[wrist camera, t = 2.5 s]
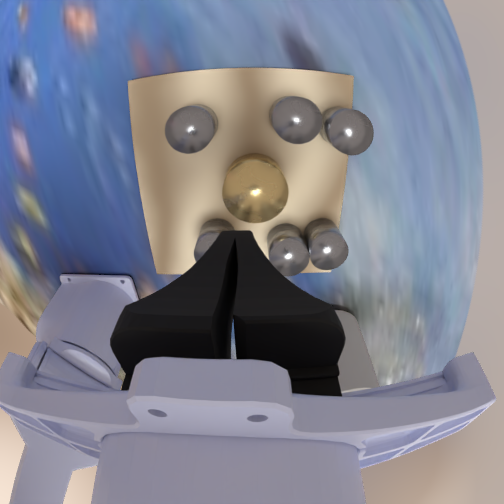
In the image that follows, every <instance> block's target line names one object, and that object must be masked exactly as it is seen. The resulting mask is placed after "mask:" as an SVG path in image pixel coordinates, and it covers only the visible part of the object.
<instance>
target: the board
mask: <svg viewBox="0 0 504 504" xmlns="http://www.w3.org/2000/svg"><path fill="white" fill-rule="evenodd" d="M353 77H354V76H350V75H344V74H337V73H329V72H321V71H311V70H299V69H283V68H225V69H209V70H197V71H187V72H178V73H171V74H164V75H157V76H151V77H146V78H140V79H135V80H130V81H128V92H129V106H130V118H131V128H132V138H133V146H134V154H135V162H136V169H137V176H138V182H139V188H140V194H141V200H142V206H143V211H144V216H145V221H146V226H147V231H148V236H149V241H150V245H151V250H152V254H153V259H154V263H155V267H156V271H157V274H184V273H185V272H186V271H188V270H189V269H190V268H191V267H192V266H193V265H194V264H195V263H196V261H195V258H194V249H195V246H196V242H197V239H198V235H199V232H200V229H201V227H202V225H203V224H204V223H205V222H206V221H208V220H211V219H216V218H218V219H224V220H226V221H228V222H229V223H231V224H232V226H233V227H234V229H235V230H251V231H252V232H253V235H254V238H255V240H256V242H257V243H258V245H259V247H260V248H261V250H262V251H263V253H264V254H265V256H266V257H267V258H268V260H269V255H268V247H267V236H268V233H269V232H270V230H271V229H272V228H273V227H275V226H277V225H279V224H283V223H289V224H293V225H295V226H297V227H298V228H299V229H300V230H301V232H302V235H303V233H304V230H305V228H306V226H307V225H308V224H309V223H310V222H311V221H313V220H315V219H318V218H327V219H330V220H332V221H333V222H334V223H335V224H336V226H337V228H338V229H339V223H340V216H341V210H342V203H343V195H344V188H345V180H346V171H347V162H348V155H346V154H344V153H341V152H340V151H338V150H337V149H336V148H334V147H333V146H332V145H330V144H329V143H328V142H326V141H325V140H324V139H323V138H322V137H321V135H320V133H319V134H318V135H317V136H316V137H315V138H314V139H313V140H311V141H310V142H307V143H304V144H292V143H289V142H287V141H285V140H283V139H282V138H281V137H280V136H279V135H278V134H277V133H276V131H275V130H274V128H273V127H272V125H271V123H270V120H269V111H270V108H271V106H272V105H273V103H274V102H275V101H276V100H278V99H279V98H281V97H284V96H297V97H303V98H306V99H309V100H311V101H312V102H313V103H314V104H316V106H317V107H318V108H319V110H320V112H321V114H322V113H323V112H324V111H325V110H326V109H328V108H330V107H334V106H340V107H344V108H348V109H352V101H353ZM193 104H202V105H206V106H208V107H210V108H211V109H212V110H213V111H214V112H215V114H216V115H217V118H218V129H217V132H216V134H215V135H214V137H213V138H212V140H211V141H210V143H209V144H208V145H207V146H206V147H205V148H204V149H203V150H201V151H199V152H196V153H192V154H185V153H181V152H178V151H176V150H175V149H173V148H172V147H171V146H170V144H169V143H168V141H167V139H166V136H165V125H166V122H167V120H168V118H169V117H170V115H171V114H172V113H173V112H175V111H176V110H178V109H180V108H183V107H186V106H190V105H193ZM250 153H259V154H264V155H267V156H269V157H271V158H272V159H274V160H275V161H276V162H277V163H278V164H279V166H280V167H281V169H282V171H283V174H284V176H285V179H286V181H287V184H288V189H289V195H288V200H287V203H286V206H285V207H284V209H283V210H282V211H281V213H280V214H279V215H277V216H276V217H275V218H273V219H271V220H269V221H266V222H263V223H248V222H244V221H241V220H239V219H237V218H236V217H234V216H233V215H232V214H231V213H230V212H229V211H228V210H227V208H226V206H225V204H224V202H223V197H222V188H223V184H224V179H225V175H226V172H227V170H228V168H229V166H230V165H231V164H232V162H234V161H235V160H236V159H237V158H239V157H241V156H243V155H246V154H250ZM313 272H331V270H321V269H318V268H316V267H315V266H314V265H313V264H312V262H311V260H310V259H309V263H308V265H307V267H306V268H305V269H304V270H303V271H302V272H301V273H313Z"/></svg>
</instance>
